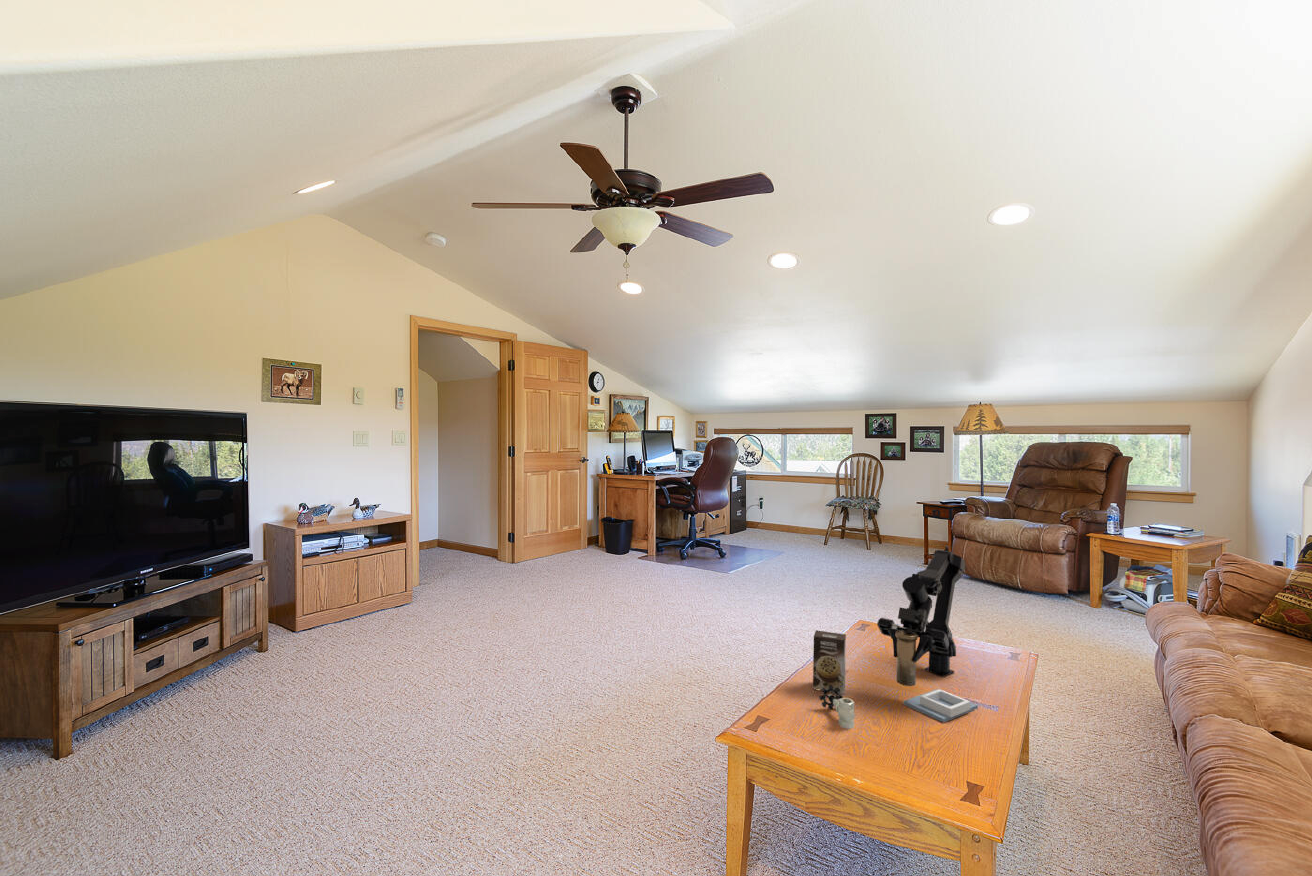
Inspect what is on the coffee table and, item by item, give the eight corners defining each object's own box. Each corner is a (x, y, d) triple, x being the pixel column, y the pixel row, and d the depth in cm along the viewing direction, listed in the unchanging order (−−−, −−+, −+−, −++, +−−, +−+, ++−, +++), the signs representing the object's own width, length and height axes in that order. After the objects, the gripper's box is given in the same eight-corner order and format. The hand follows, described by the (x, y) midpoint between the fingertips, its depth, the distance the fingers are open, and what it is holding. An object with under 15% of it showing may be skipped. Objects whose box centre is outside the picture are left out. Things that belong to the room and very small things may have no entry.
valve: (862, 729, 146) (841, 707, 158) (862, 703, 146) (841, 684, 158) (837, 730, 145) (818, 708, 157) (838, 704, 145) (818, 685, 157)
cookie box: (812, 690, 169) (812, 635, 169) (814, 681, 175) (815, 629, 175) (844, 695, 166) (844, 640, 166) (845, 686, 172) (846, 633, 172)
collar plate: (937, 692, 168) (937, 681, 168) (979, 709, 157) (979, 697, 157) (903, 704, 160) (903, 693, 160) (945, 723, 149) (945, 711, 149)
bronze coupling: (901, 675, 166) (902, 628, 166) (921, 683, 161) (921, 634, 161) (890, 681, 163) (891, 632, 162) (910, 688, 158) (910, 638, 158)
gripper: (879, 590, 171) (864, 636, 163) (945, 603, 158) (932, 653, 150) (889, 611, 177) (875, 656, 169) (954, 624, 164) (942, 674, 156)
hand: (904, 659), depth 161 cm, fingers closed on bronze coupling, 5 cm apart
